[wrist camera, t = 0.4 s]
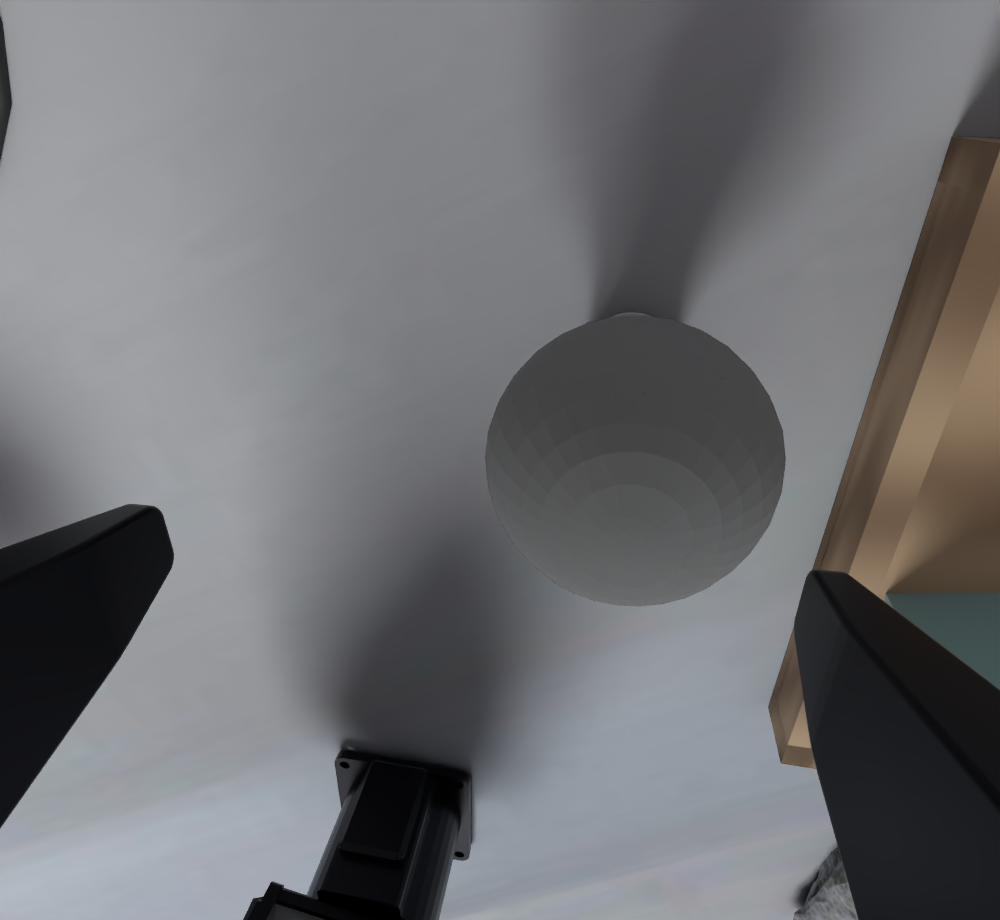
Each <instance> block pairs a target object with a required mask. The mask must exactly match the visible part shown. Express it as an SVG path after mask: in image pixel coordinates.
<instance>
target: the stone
mask: <svg viewBox="0 0 1000 920" xmlns="http://www.w3.org/2000/svg"><path fill="white" fill-rule="evenodd" d="M793 920H858V917H857V914H856V910H855V906H854V903H853V899H852V896H851V892H850V888H849V885H848V881H847V877H846V874H845V870H844V867H843V863H842V859H841V856H840V852H839V849H835V850H834V851H832V852H831V853H830V854H829V856H828V857H827V858H826V860H825V861H824V862H823V863H822V865H821V868H820V871H819V874H818V878H817V880H816V881H815V882H814V883H813V885H812V887H811V890H810V892H809V894H808V896H807V899H806V901H805V904H804V907H803V908H801V909H799V910H798V911H797V912H795V913H794V919H793Z"/></svg>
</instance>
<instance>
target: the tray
mask: <svg viewBox="0 0 1000 920" xmlns="http://www.w3.org/2000/svg"><path fill="white" fill-rule="evenodd" d="M814 569H819V570H829V571H841V572H845V573H847V574H849V575H850V576H852V577H853V578H854V579H856V580H857V581H858V582H859V583H861V584H862V585H863V586H865V587H866V588H867V589H869V590H870V591H871V592H873V593H874V594H875V595H876V596H878V597H879V598H880V599H882V600H883V601H885V594H886V593H1000V138H979V137H952V139H951V142H950V145H949V149H948V152H947V155H946V158H945V161H944V164H943V167H942V170H941V173H940V176H939V180H938V183H937V186H936V189H935V192H934V195H933V198H932V201H931V204H930V207H929V211H928V214H927V217H926V220H925V223H924V226H923V229H922V232H921V235H920V238H919V242H918V245H917V248H916V251H915V254H914V257H913V260H912V263H911V266H910V269H909V273H908V276H907V279H906V282H905V285H904V288H903V291H902V294H901V297H900V300H899V304H898V307H897V310H896V313H895V316H894V319H893V322H892V325H891V328H890V331H889V335H888V338H887V341H886V344H885V347H884V350H883V353H882V356H881V359H880V363H879V366H878V369H877V372H876V375H875V378H874V381H873V384H872V387H871V390H870V394H869V397H868V400H867V403H866V406H865V409H864V412H863V415H862V418H861V421H860V425H859V428H858V431H857V434H856V437H855V440H854V443H853V446H852V449H851V452H850V456H849V459H848V462H847V465H846V468H845V471H844V474H843V477H842V480H841V483H840V487H839V490H838V493H837V496H836V499H835V502H834V505H833V508H832V511H831V514H830V518H829V521H828V524H827V527H826V530H825V533H824V536H823V539H822V542H821V545H820V549H819V552H818V555H817V558H816V561H815V564H814V567H813V570H814ZM768 708H769V713H770V717H771V722H772V726H773V730H774V735H775V739H776V744H777V748H778V753H779V757H780V762H781V763H782V764H788V765H794V766H801V767H807V768H813V769H816V765H815V761H814V757H813V753H812V749H811V744H810V738H809V732H808V726H807V719H806V713H805V706H804V699H803V693H802V686H801V679H800V673H799V666H798V659H797V653H796V646H795V639H794V629H793V632H792V635H791V639H790V642H789V645H788V648H787V651H786V654H785V657H784V660H783V663H782V666H781V670H780V673H779V676H778V679H777V682H776V685H775V688H774V691H773V694H772V697H771V701H770V704H769V707H768Z"/></svg>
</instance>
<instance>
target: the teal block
mask: <svg viewBox="0 0 1000 920" xmlns="http://www.w3.org/2000/svg"><path fill="white" fill-rule="evenodd" d="M884 602H886V603H887V604H888V605H890V606H891V607H892V608H893V609H895V610H896V611H897V612H899V613H900V614H901V615H903V616H904V617H905V618H907V619H908V620H909V621H911V622H912V623H913V624H914V625H916V626H917V627H918V628H920V629H921V630H922V631H924V632H925V633H926V634H928V635H929V636H930V637H931V638H933V639H934V640H935V641H937V642H938V643H939V644H941V645H942V646H943V647H945V648H946V649H947V650H948V651H950V652H951V653H952V654H954V655H955V656H956V657H958V658H959V659H960V660H962V661H963V662H964V663H965V664H967V665H968V666H969V667H971V668H972V669H973V670H975V671H976V672H977V673H979V674H980V675H981V676H983V677H984V678H985V679H986V680H988V681H989V682H990V683H992V684H993V685H994V686H996V687H997V688H998V689H1000V593H886V594H885V601H884Z"/></svg>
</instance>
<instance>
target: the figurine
mask: <svg viewBox="0 0 1000 920" xmlns="http://www.w3.org/2000/svg"><path fill="white" fill-rule="evenodd" d="M10 109H11V98H10V88H9V79H8V69H7V60H6V50H5V41H4V31H3V23H2V21H1V18H0V156H1V152H2V147H3V142H4V137H5V132H6V128H7V123H8V118H9V113H10Z"/></svg>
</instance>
